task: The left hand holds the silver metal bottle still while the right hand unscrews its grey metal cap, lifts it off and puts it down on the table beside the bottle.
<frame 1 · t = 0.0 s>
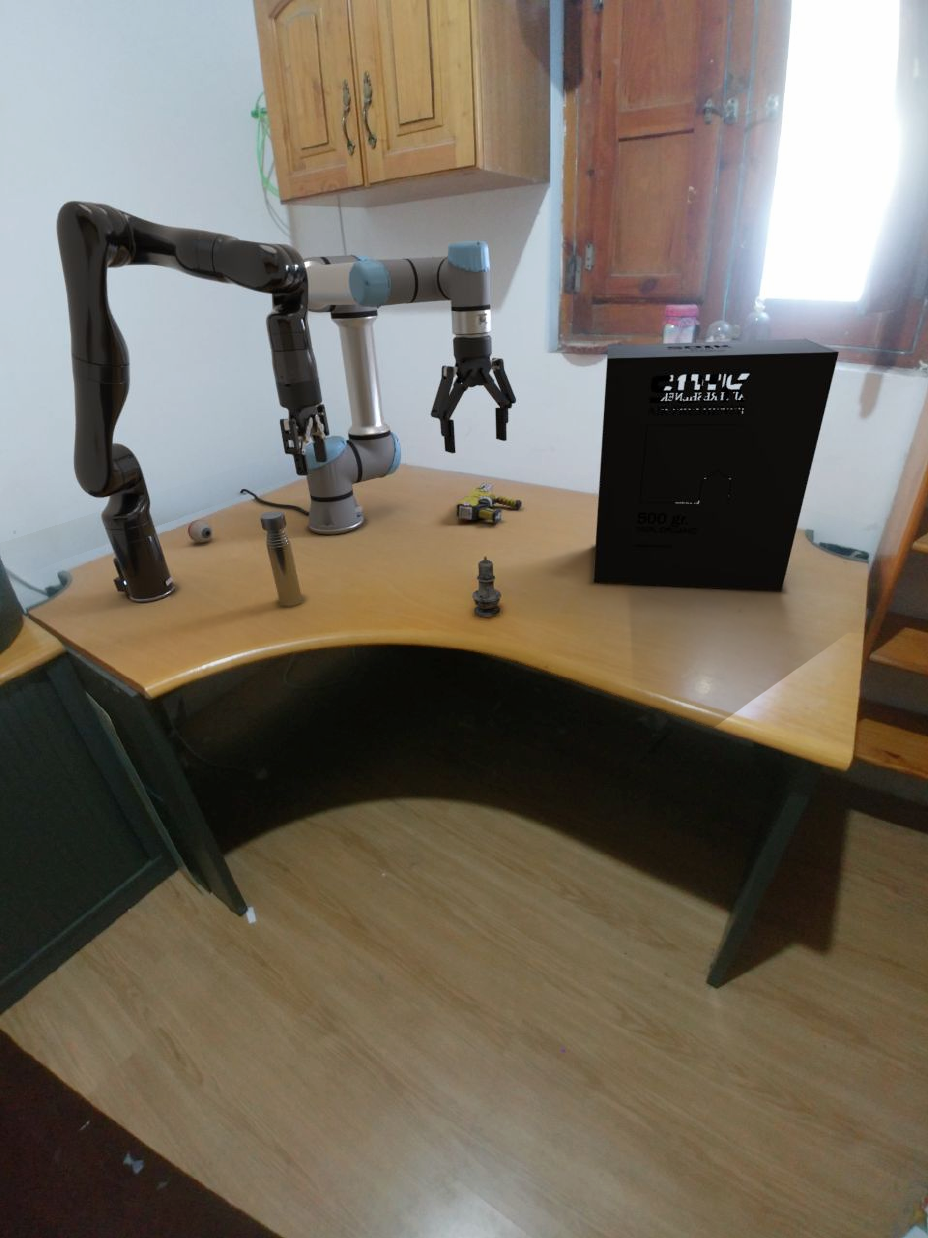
left hand: (312, 468, 114), 29 cm above the table, tool pointing down, fingers open, 8 cm apart
right hand: (476, 445, 127), 28 cm above the table, tool pointing down, fingers open, 13 cm apart
cardboard box: (679, 567, 135), on the table
eyeball: (203, 542, 163), on the table
cap: (272, 516, 121), point 20 cm above the table, screwed on, not yet turned
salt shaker: (487, 611, 123), on the table
toy gun: (493, 510, 173), on the table
bottle: (291, 601, 131), on the table
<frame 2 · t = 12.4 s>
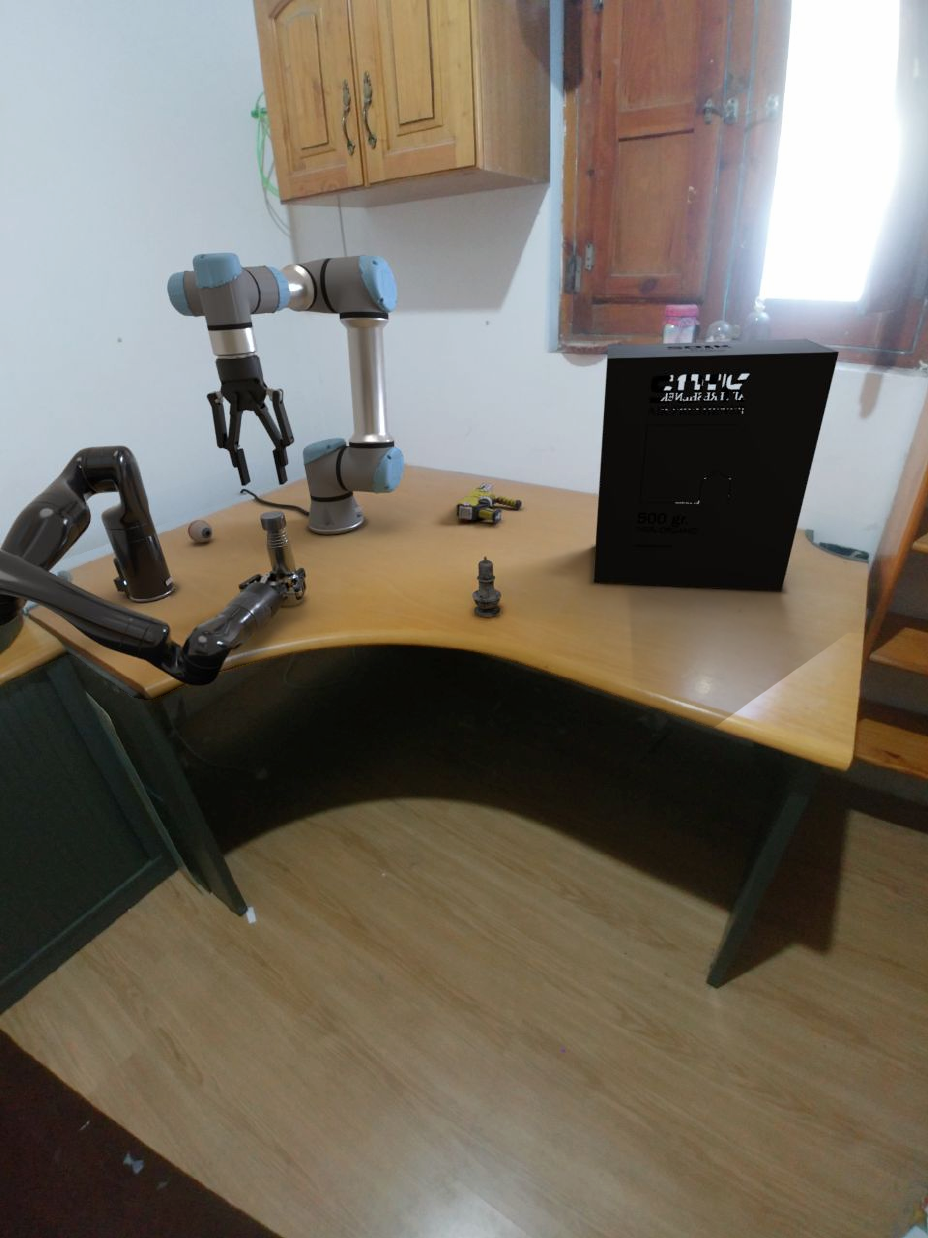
left hand: (291, 571, 130), 6 cm above the table, tool horizontal, fingers closed on bottle, 4 cm apart
right hand: (264, 482, 117), 26 cm above the table, tool pointing down, fingers open, 7 cm apart
bottle: (291, 601, 131), on the table, touching left hand
everything else where it was.
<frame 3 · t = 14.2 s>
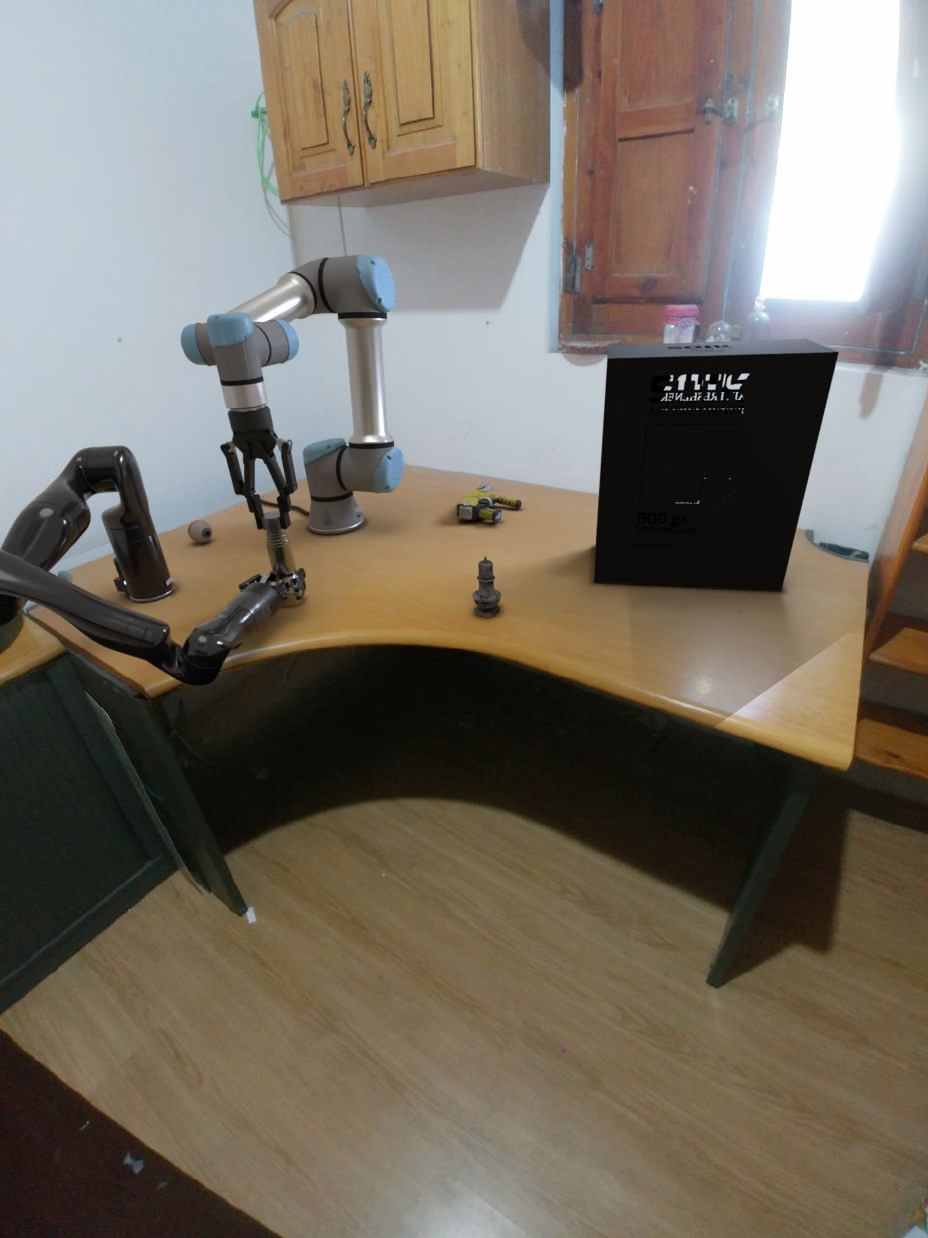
left hand: (291, 571, 130), 6 cm above the table, tool horizontal, fingers closed on bottle, 4 cm apart
right hand: (274, 526, 122), 17 cm above the table, tool pointing down, fingers closed on cap, 5 cm apart
cap: (272, 516, 121), point 20 cm above the table, screwed on, not yet turned, touching right hand
bottle: (291, 601, 131), on the table, touching left hand
everything else where it was.
when the right hand's fingers open (1 cm above the table, at t = 32.5 s): cap drops 1 cm, point 2 cm above the table.
when the left hand's fingers open (6 cm above the table, at t = 33.7 s): bottle stays where it is, on the table.
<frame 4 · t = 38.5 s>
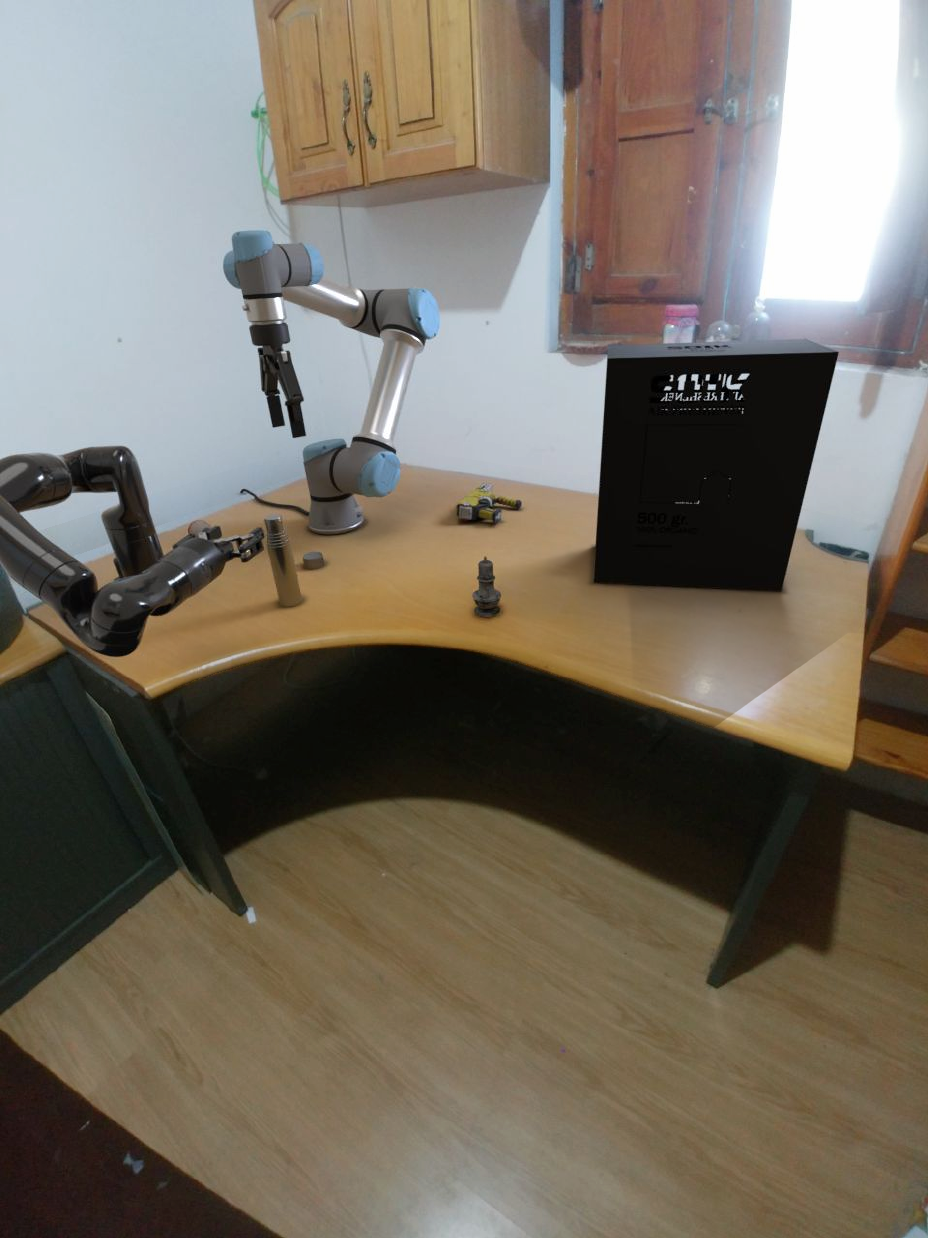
left hand: (240, 531, 110), 21 cm above the table, tool horizontal, fingers open, 8 cm apart
right hand: (288, 431, 131), 32 cm above the table, tool pointing down, fingers open, 13 cm apart
cap: (312, 556, 145), point 2 cm above the table, off its thread
bottle: (291, 601, 131), on the table
everything else where it was.
at the end: cap came off its thread; cap point 2.3 cm above the table; the left hand is holding nothing; the right hand is holding nothing; bottle tilted 0°; bottle moved 0.0 cm from its start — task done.
